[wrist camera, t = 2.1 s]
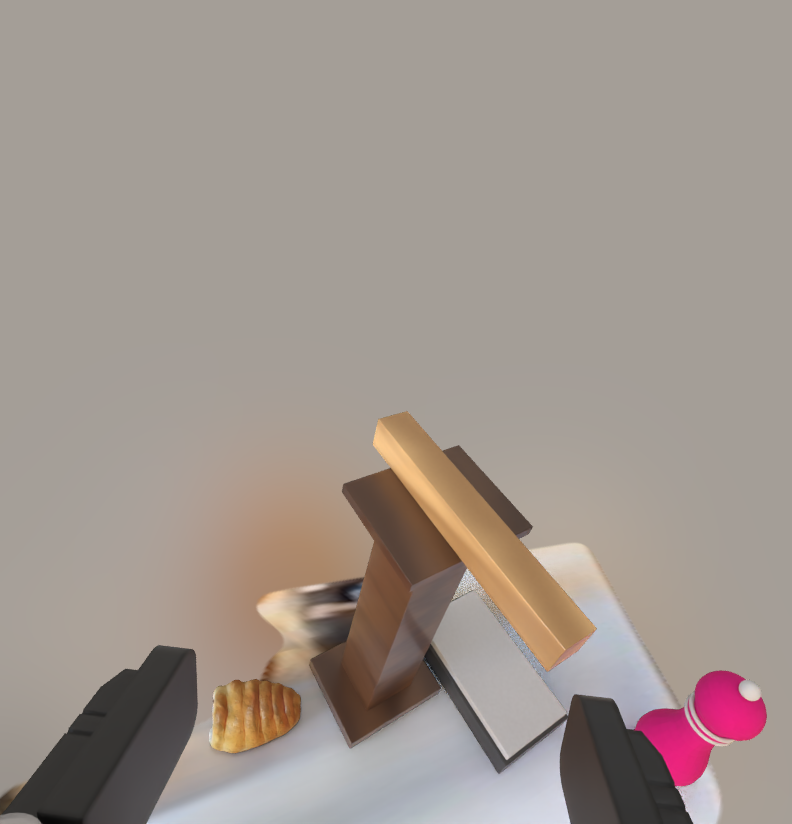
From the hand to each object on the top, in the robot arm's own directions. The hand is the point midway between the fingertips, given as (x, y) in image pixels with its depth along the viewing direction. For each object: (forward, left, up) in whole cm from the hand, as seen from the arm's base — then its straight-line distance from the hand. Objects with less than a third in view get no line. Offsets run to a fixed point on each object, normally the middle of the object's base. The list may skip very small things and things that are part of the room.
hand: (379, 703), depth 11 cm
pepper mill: (+43, -8, -52) cm, 68 cm away
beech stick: (+19, +12, -20) cm, 30 cm away
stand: (+19, +15, -52) cm, 58 cm away
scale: (+31, +9, -52) cm, 61 cm away
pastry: (+5, +18, -52) cm, 56 cm away
